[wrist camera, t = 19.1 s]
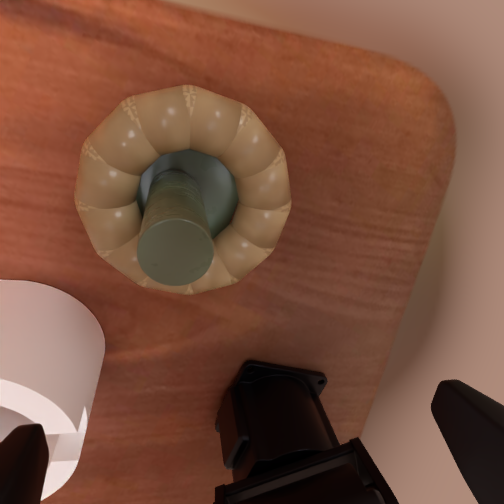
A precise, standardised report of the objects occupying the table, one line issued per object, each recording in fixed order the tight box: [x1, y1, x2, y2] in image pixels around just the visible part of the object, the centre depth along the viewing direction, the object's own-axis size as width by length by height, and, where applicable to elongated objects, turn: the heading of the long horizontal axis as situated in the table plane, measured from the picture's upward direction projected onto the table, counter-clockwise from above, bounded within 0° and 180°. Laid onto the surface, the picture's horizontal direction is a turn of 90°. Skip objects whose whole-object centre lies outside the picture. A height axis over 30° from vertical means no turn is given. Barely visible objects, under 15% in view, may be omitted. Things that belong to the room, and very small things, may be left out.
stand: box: [136, 149, 239, 286], centre depth 15 cm, size 6×6×8 cm
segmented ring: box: [74, 85, 292, 295], centre depth 16 cm, size 9×9×2 cm
